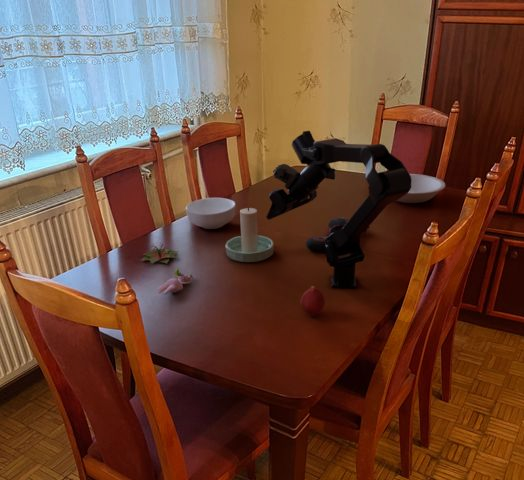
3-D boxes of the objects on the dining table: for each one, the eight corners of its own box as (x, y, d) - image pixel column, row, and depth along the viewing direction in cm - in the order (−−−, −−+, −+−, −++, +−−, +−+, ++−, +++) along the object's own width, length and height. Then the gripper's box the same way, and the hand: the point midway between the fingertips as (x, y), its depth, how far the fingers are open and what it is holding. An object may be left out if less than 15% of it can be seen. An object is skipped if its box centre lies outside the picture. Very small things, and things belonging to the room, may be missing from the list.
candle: (257, 255, 163) (255, 210, 155) (240, 255, 164) (238, 210, 156) (259, 249, 167) (257, 204, 160) (243, 248, 168) (240, 204, 160)
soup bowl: (386, 187, 217) (388, 171, 213) (447, 194, 208) (450, 177, 204) (368, 206, 199) (370, 188, 195) (435, 214, 190) (438, 196, 186)
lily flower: (186, 252, 168) (184, 238, 165) (169, 268, 158) (167, 253, 156) (151, 248, 171) (149, 234, 169) (133, 263, 162) (130, 249, 159)
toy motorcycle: (302, 255, 167) (351, 257, 159) (300, 239, 164) (350, 239, 156) (334, 230, 185) (379, 230, 177) (333, 215, 183) (378, 215, 175)
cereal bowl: (207, 213, 197) (205, 194, 193) (245, 221, 189) (244, 201, 185) (177, 229, 185) (175, 208, 181) (217, 237, 177) (216, 216, 173)
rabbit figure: (178, 282, 154) (151, 298, 141) (177, 261, 151) (149, 276, 138) (198, 285, 152) (172, 301, 139) (198, 264, 149) (171, 279, 136)
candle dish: (271, 263, 159) (271, 253, 157) (223, 263, 161) (222, 252, 159) (275, 244, 171) (275, 235, 169) (230, 244, 173) (229, 234, 171)
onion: (309, 306, 137) (310, 278, 133) (328, 313, 134) (330, 284, 130) (296, 316, 133) (296, 287, 129) (315, 323, 130) (316, 293, 126)
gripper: (307, 149, 152) (274, 187, 163) (274, 159, 138) (240, 199, 149) (332, 180, 152) (297, 216, 162) (301, 193, 138) (265, 231, 148)
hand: (275, 214), depth 155 cm, fingers open, 9 cm apart
